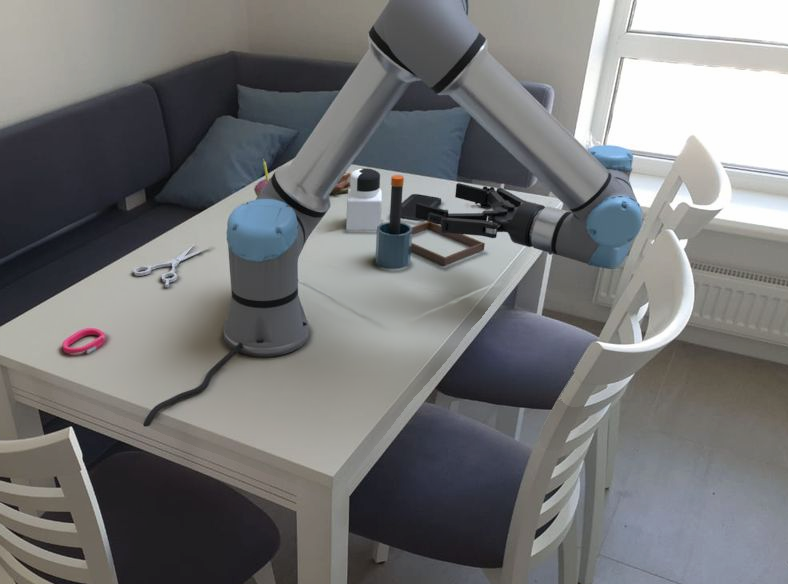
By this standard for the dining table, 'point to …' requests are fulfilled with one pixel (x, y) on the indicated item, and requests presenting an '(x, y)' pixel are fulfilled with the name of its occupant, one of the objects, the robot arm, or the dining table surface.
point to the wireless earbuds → (486, 201)
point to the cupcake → (263, 182)
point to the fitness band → (86, 348)
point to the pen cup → (393, 246)
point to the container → (364, 200)
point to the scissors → (170, 263)
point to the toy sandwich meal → (343, 184)
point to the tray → (475, 244)
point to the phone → (410, 205)
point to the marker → (396, 204)
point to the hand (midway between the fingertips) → (437, 199)
